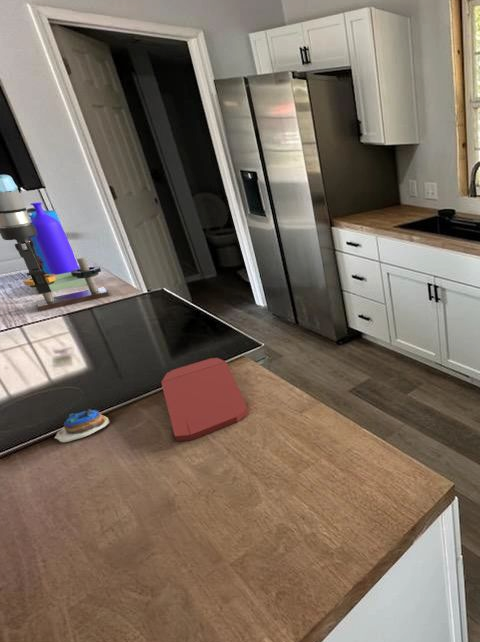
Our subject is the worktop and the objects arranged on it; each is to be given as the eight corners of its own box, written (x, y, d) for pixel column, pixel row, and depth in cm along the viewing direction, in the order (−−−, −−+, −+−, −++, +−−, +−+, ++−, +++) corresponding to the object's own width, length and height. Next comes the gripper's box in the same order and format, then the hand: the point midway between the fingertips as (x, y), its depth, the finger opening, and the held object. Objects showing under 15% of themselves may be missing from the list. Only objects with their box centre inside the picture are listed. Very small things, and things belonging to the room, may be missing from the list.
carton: (254, 428, 87) (226, 367, 102) (249, 411, 85) (221, 351, 100) (183, 458, 79) (164, 386, 95) (175, 440, 77) (158, 370, 92)
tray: (37, 285, 159) (34, 278, 158) (84, 276, 168) (82, 270, 167) (39, 294, 150) (36, 287, 149) (89, 284, 159) (86, 278, 158)
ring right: (66, 277, 141) (64, 273, 140) (84, 270, 147) (82, 266, 147) (89, 276, 141) (87, 272, 141) (106, 269, 148) (104, 265, 148)
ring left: (18, 286, 133) (16, 282, 133) (39, 278, 140) (38, 274, 139) (42, 285, 134) (41, 281, 133) (62, 277, 140) (61, 273, 140)
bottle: (53, 276, 169) (21, 203, 158) (81, 271, 175) (52, 200, 164) (52, 281, 164) (18, 205, 153) (81, 275, 169) (51, 202, 158)
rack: (40, 312, 135) (20, 270, 130) (39, 306, 140) (20, 265, 135) (109, 296, 147) (94, 258, 142) (106, 291, 152) (91, 254, 147)
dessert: (121, 413, 85) (94, 404, 80) (105, 446, 82) (76, 439, 77) (85, 415, 86) (56, 407, 81) (67, 448, 82) (36, 441, 77)
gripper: (34, 228, 125) (63, 293, 133) (31, 218, 140) (57, 276, 148) (-4, 233, 120) (28, 300, 127) (-3, 222, 135) (26, 282, 143)
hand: (44, 288), depth 138 cm, fingers open, 13 cm apart
